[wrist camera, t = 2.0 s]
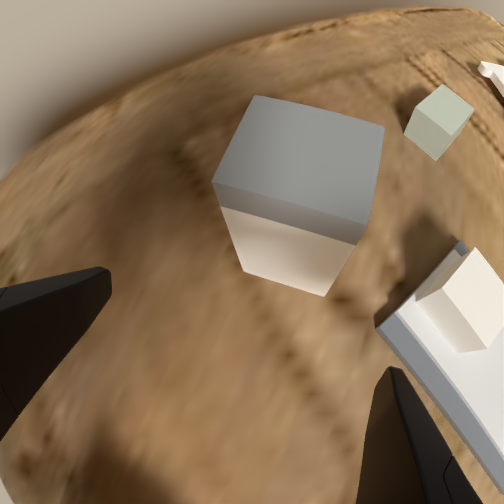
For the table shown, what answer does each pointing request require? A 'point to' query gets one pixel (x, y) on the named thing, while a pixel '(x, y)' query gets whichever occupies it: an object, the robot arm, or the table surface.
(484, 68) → the organizer
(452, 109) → the box
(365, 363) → the table surface
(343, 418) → the table surface
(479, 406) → the board
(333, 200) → the block
